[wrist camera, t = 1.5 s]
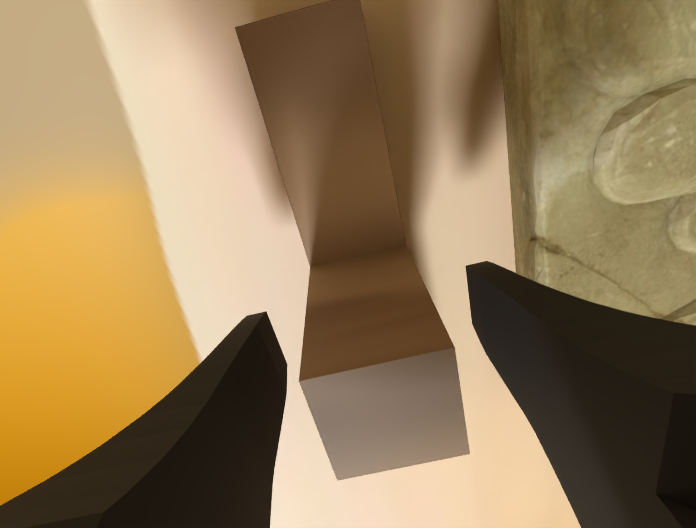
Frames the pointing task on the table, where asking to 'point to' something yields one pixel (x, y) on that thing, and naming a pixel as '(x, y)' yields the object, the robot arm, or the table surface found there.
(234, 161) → the table surface
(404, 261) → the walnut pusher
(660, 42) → the decorative tile
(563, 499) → the table surface
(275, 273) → the table surface
